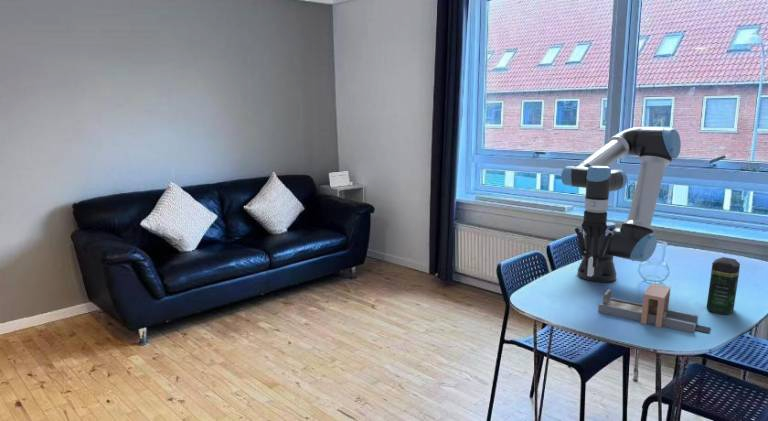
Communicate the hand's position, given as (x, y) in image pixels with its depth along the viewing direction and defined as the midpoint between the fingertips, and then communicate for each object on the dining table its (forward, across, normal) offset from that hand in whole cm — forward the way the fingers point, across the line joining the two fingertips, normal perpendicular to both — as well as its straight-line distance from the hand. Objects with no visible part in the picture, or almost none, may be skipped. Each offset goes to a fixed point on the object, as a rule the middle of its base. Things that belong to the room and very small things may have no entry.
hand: (590, 275), depth 185 cm
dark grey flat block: (+11, +36, +1) cm, 37 cm away
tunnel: (+11, +22, +1) cm, 24 cm away
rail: (+11, +19, +1) cm, 22 cm away
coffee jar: (+11, +39, +23) cm, 46 cm away
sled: (+10, +15, +1) cm, 18 cm away
